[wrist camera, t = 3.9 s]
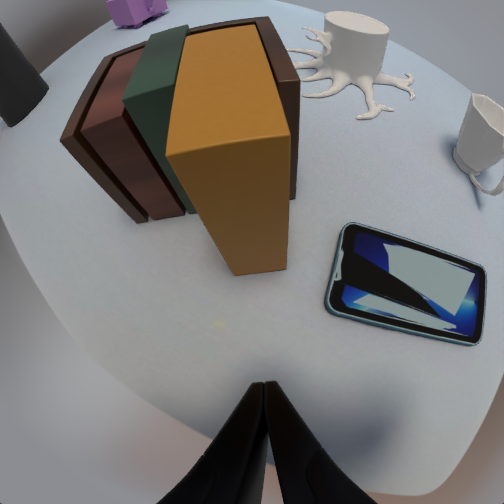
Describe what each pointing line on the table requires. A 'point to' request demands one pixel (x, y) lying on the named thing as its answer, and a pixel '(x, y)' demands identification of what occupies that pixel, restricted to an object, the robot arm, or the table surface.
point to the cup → (481, 139)
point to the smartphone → (406, 286)
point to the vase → (17, 82)
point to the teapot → (134, 11)
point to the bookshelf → (156, 119)
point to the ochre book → (233, 147)
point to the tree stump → (352, 57)
